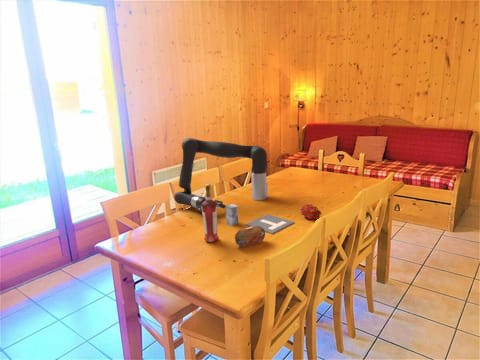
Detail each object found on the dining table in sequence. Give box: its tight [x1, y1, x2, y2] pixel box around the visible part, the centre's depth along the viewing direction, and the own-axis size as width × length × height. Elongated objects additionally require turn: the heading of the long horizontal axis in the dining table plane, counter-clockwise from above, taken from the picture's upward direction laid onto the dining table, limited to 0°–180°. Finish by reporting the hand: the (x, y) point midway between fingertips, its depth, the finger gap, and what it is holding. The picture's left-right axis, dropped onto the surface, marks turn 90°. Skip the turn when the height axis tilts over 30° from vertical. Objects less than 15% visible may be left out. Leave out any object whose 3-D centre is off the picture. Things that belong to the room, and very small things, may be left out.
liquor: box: [201, 183, 219, 243], centre depth 174 cm, size 7×7×28 cm
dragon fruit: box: [300, 203, 323, 221], centre depth 198 cm, size 8×8×12 cm
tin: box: [234, 225, 266, 248], centre depth 171 cm, size 15×3×8 cm, turn 117°
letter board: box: [245, 214, 295, 235], centre depth 194 cm, size 18×18×1 cm
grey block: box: [225, 203, 239, 227], centre depth 195 cm, size 4×4×10 cm
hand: (219, 209), depth 201 cm, fingers open, 8 cm apart
